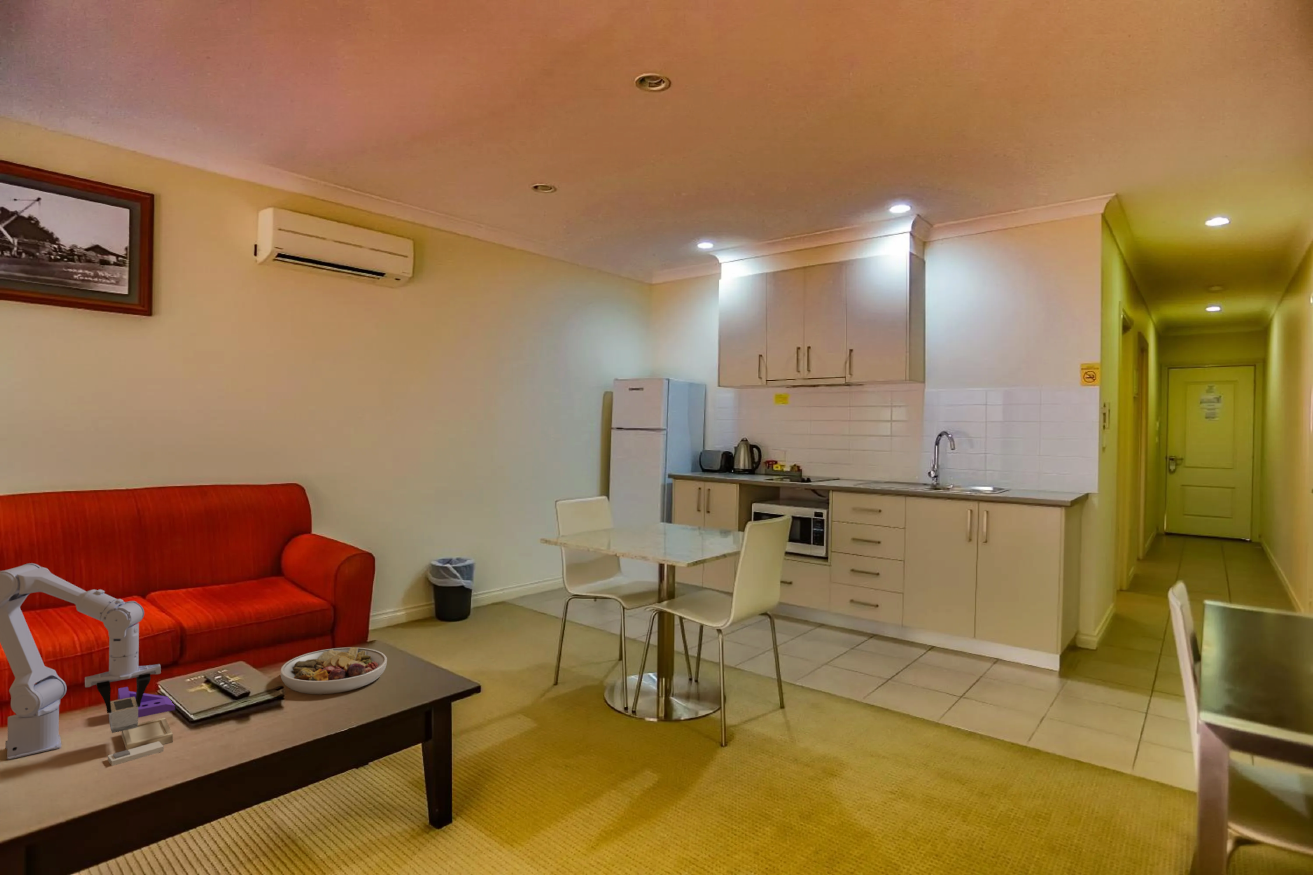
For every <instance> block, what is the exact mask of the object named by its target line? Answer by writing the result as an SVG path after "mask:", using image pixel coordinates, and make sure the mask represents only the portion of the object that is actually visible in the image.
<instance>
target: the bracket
mask: <svg viewBox="0 0 1313 875" xmlns="http://www.w3.org/2000/svg"><path fill="white" fill-rule="evenodd" d="M136 692H137V691H130V690H129V687H128V686H124V687H120V688H119V687H118V690H117V700H120V699H125V698H130V697H135V699H136ZM168 697H169V696H166V695H160V694H151V693H146V692H144V694H143V697H142V700H141V704H140V707H138V718H142V717H147V716H148V717H149V716H151V715H156V714H162V713H166V712H167V713H168V712H171V711H175V710H176V704H175V703H174V704H175V705H174V704H173V703H172V701H171V700H170V699H169V698H168Z"/></svg>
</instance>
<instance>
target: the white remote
mask: <svg viewBox="0 0 1313 875" xmlns="http://www.w3.org/2000/svg"><path fill="white" fill-rule="evenodd" d="M164 748H165V747H164V744H161V743H160V742H159V741H158V742H154V743H150V744H147V745H143V746H140V747H136V748H133V749H129V750H126V749H125V750H122V751H118V752H114V753H112V754H109V755H107V762H108V763H109V764H110V765H111V767H113V766H117V765H121V764H124V763H128V762H131V761H135V760H138V759H141V758H146V757H148V756H151V755H157V754H159V753H162V752H165V749H164Z"/></svg>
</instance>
